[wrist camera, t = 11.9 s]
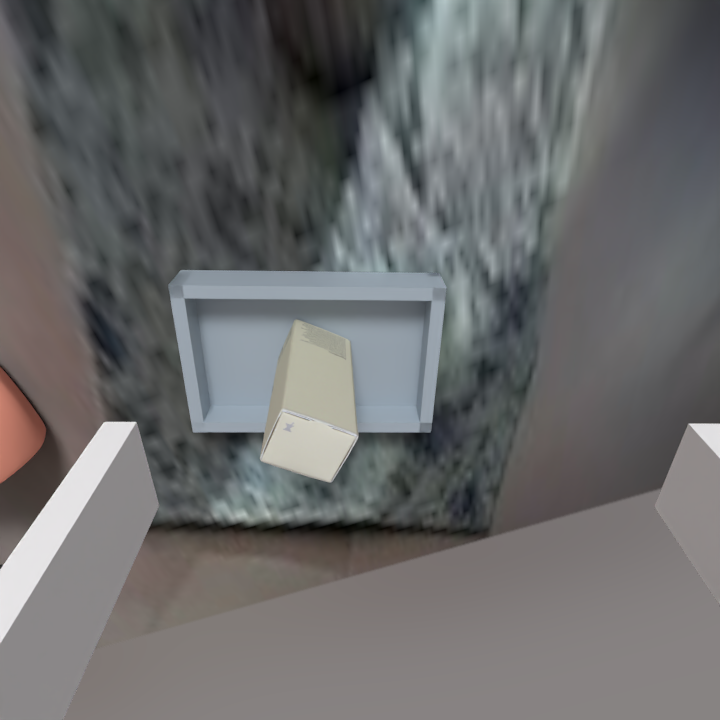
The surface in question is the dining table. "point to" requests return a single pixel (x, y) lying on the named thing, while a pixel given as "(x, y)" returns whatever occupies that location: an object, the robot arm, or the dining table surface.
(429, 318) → the bin
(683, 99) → the dining table surface
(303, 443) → the box
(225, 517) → the dining table surface
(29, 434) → the teapot
